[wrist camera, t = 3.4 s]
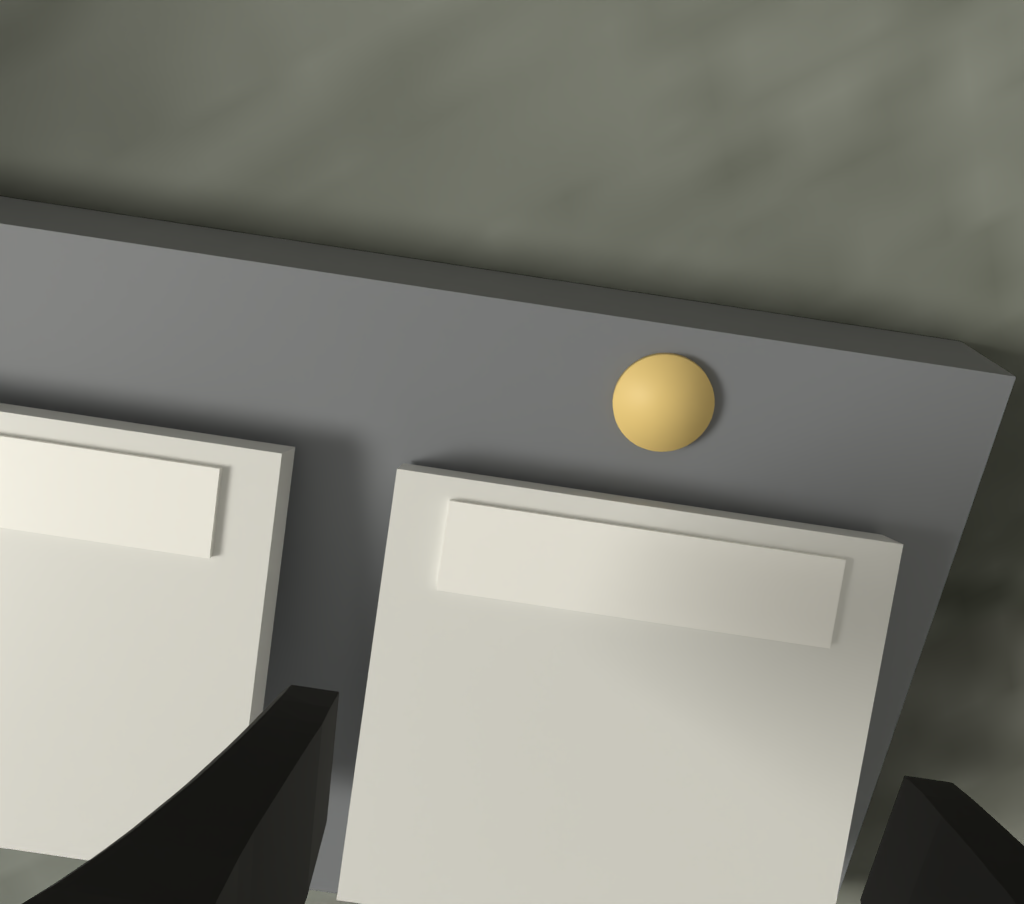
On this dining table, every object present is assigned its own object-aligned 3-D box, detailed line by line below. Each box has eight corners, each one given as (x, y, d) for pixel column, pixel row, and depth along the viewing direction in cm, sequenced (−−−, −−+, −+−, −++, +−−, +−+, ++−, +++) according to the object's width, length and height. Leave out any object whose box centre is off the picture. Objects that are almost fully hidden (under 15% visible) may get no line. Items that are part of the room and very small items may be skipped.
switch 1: (245, 852, 19) (227, 885, 18) (-216, 784, 19) (-265, 813, 18) (295, 447, 18) (279, 454, 17) (-192, 373, 18) (-241, 376, 17)
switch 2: (806, 938, 19) (825, 975, 18) (346, 871, 19) (335, 904, 18) (882, 534, 18) (906, 546, 17) (403, 463, 18) (395, 469, 17)
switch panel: (790, 878, 24) (822, 990, 21) (-120, 745, 24) (-217, 838, 21) (961, 341, 19) (1034, 388, 16) (-186, 168, 19) (-324, 183, 16)
